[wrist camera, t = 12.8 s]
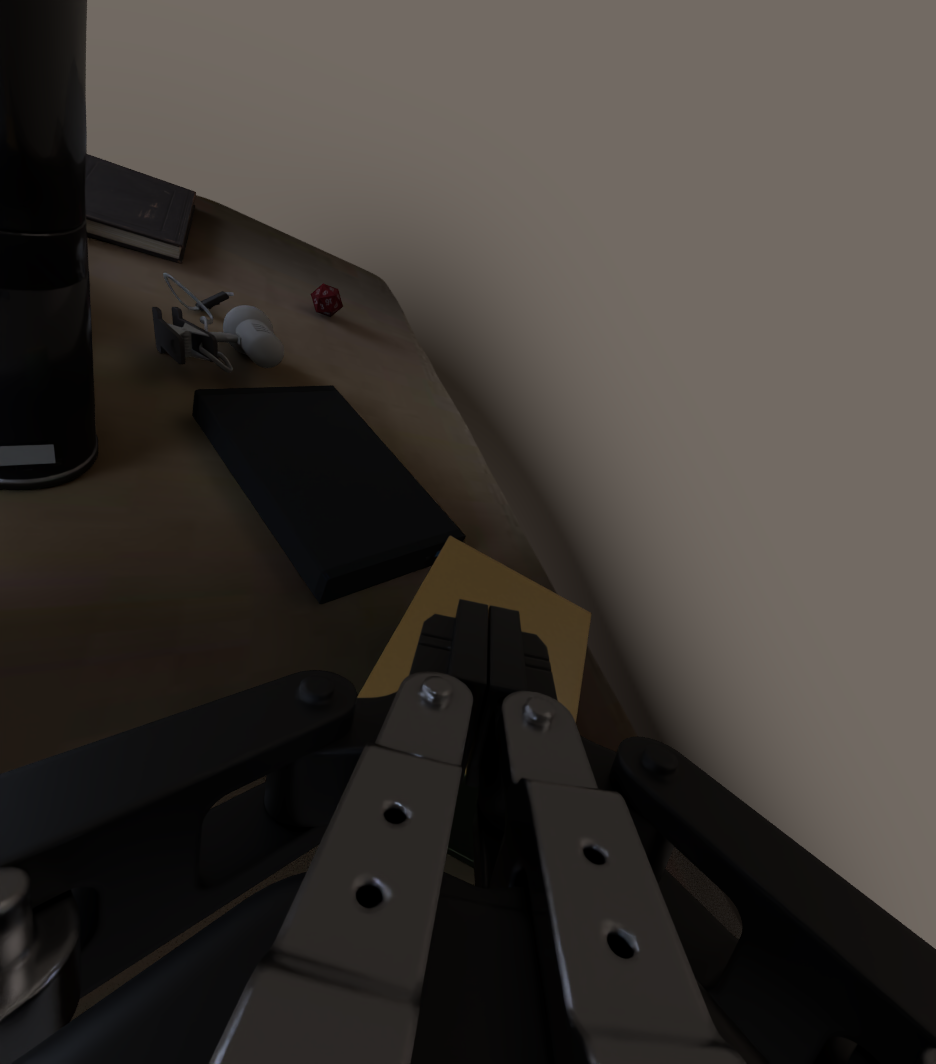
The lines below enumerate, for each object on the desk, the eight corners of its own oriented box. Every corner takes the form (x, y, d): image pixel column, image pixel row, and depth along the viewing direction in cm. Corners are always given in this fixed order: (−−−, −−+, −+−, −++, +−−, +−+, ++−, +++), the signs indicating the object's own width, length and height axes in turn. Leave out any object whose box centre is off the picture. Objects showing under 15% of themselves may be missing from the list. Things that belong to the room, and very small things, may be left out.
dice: (337, 325, 74) (345, 297, 72) (305, 313, 73) (311, 284, 70) (340, 314, 77) (347, 288, 74) (309, 303, 75) (315, 275, 73)
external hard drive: (327, 408, 58) (334, 385, 56) (454, 557, 49) (467, 535, 47) (192, 417, 48) (194, 389, 46) (319, 605, 39) (328, 580, 37)
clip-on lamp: (143, 323, 61) (168, 380, 49) (136, 263, 57) (161, 308, 46) (250, 330, 67) (295, 381, 55) (249, 275, 64) (297, 318, 52)
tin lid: (446, 540, 37) (449, 534, 37) (587, 618, 38) (591, 613, 37) (349, 711, 25) (352, 705, 25) (556, 824, 26) (562, 819, 25)
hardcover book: (194, 207, 83) (195, 191, 82) (181, 263, 68) (182, 245, 67) (69, 165, 76) (68, 147, 75) (24, 218, 61) (22, 197, 60)
